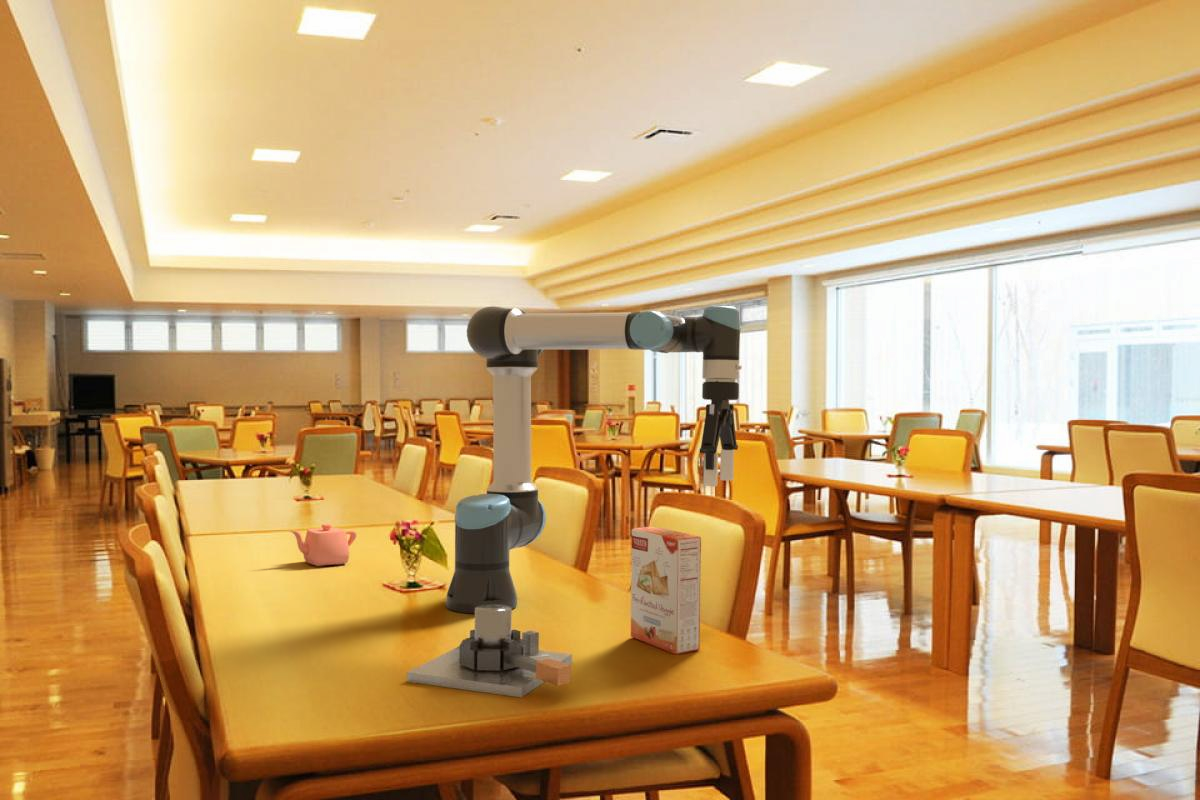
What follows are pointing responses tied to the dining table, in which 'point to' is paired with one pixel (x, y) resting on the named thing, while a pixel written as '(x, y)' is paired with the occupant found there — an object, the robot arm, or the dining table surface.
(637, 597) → the cracker box
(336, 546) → the teapot
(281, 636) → the dining table surface
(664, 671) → the dining table surface
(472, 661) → the wrench
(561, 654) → the flange plate
